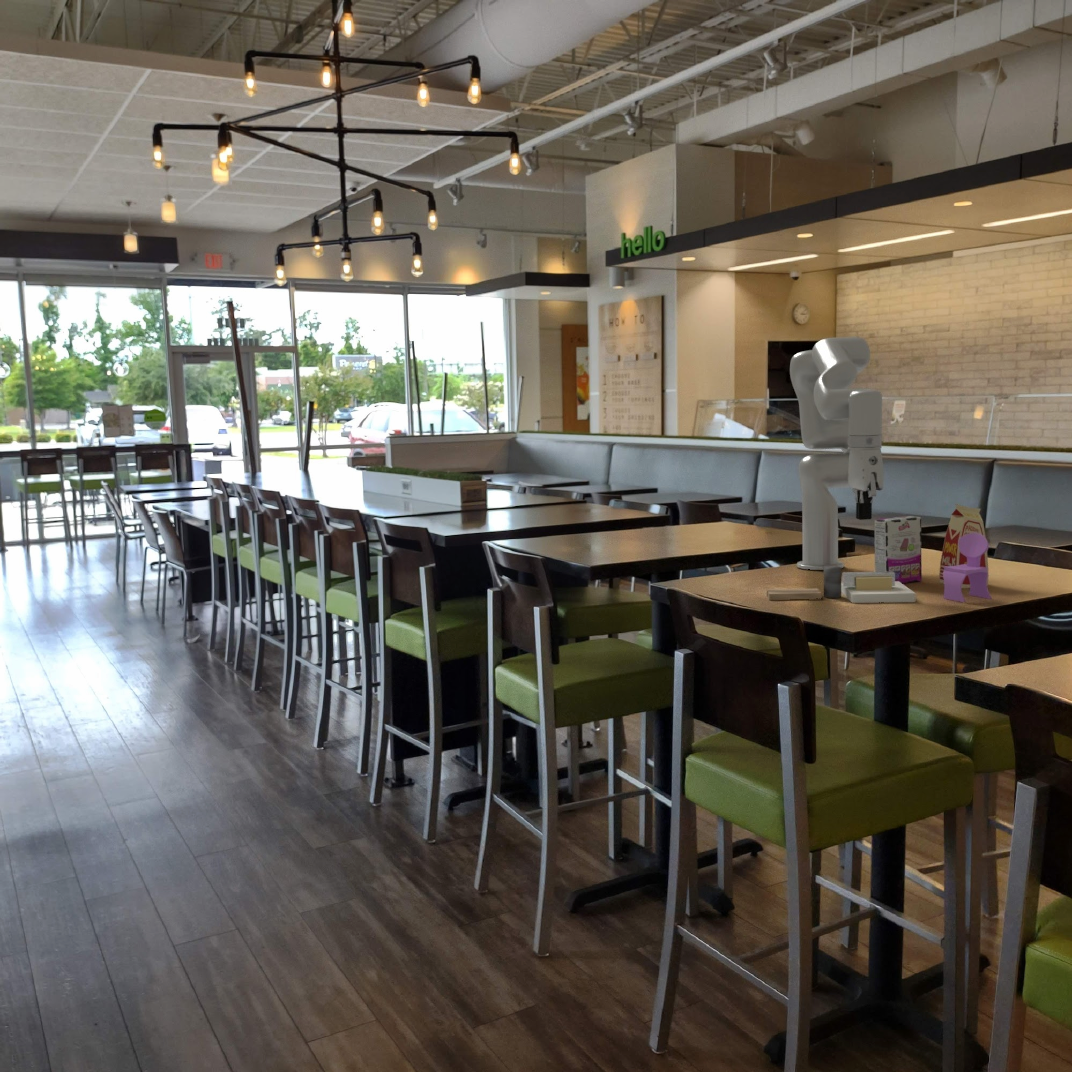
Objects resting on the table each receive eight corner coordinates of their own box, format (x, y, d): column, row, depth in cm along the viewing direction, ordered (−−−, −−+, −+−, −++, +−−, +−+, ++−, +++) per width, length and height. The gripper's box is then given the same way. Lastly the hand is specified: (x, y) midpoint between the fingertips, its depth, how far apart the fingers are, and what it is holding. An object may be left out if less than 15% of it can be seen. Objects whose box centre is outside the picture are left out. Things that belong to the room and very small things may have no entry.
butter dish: (839, 590, 247) (839, 571, 247) (898, 589, 245) (898, 569, 245) (851, 602, 231) (851, 582, 231) (915, 602, 230) (915, 581, 229)
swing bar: (844, 586, 238) (844, 574, 237) (842, 584, 240) (842, 572, 240) (894, 585, 236) (895, 573, 236) (892, 584, 239) (892, 571, 238)
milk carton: (959, 588, 244) (960, 506, 242) (936, 582, 253) (937, 502, 251) (992, 585, 246) (994, 503, 243) (969, 579, 255) (970, 500, 252)
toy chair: (938, 598, 233) (938, 533, 231) (966, 594, 237) (967, 530, 235) (966, 604, 226) (967, 537, 224) (995, 599, 229) (996, 534, 227)
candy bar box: (908, 578, 259) (908, 515, 257) (922, 581, 255) (922, 516, 253) (873, 583, 255) (873, 518, 253) (886, 586, 251) (887, 520, 249)
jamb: (766, 595, 244) (766, 566, 244) (838, 594, 242) (838, 565, 242) (769, 600, 239) (769, 570, 238) (843, 598, 236) (843, 569, 236)
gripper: (894, 443, 233) (892, 522, 236) (866, 439, 247) (865, 514, 250) (863, 445, 232) (862, 524, 235) (836, 441, 247) (836, 515, 250)
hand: (863, 518), depth 243 cm, fingers closed
